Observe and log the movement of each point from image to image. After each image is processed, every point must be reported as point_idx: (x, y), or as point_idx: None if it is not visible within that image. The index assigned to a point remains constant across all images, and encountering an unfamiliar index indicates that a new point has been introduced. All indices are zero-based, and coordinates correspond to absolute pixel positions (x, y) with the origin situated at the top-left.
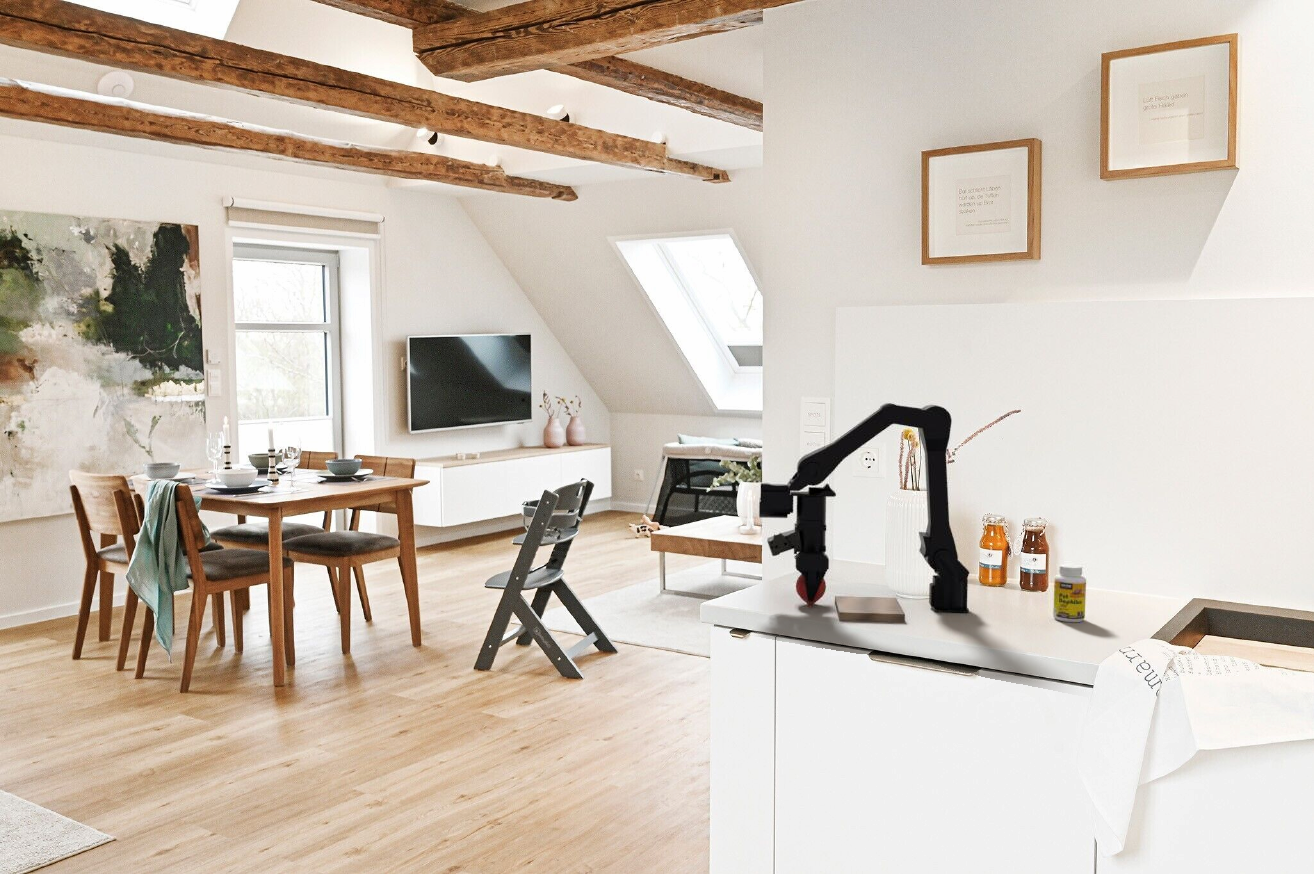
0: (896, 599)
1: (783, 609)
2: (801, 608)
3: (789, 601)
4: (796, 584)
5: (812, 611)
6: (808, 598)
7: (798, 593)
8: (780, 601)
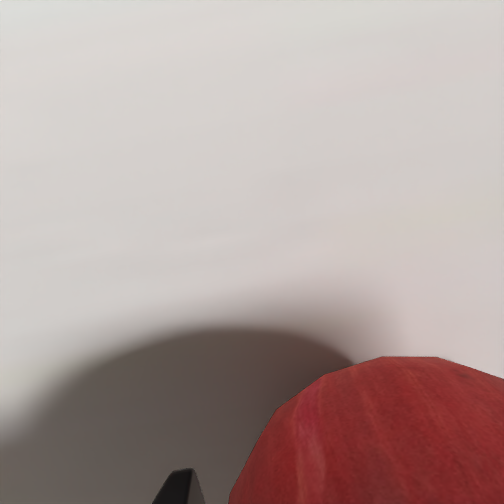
0: None
1: (84, 203)
2: (199, 352)
3: (479, 195)
4: (404, 450)
5: (122, 445)
6: (164, 496)
7: (311, 393)
8: (467, 97)
